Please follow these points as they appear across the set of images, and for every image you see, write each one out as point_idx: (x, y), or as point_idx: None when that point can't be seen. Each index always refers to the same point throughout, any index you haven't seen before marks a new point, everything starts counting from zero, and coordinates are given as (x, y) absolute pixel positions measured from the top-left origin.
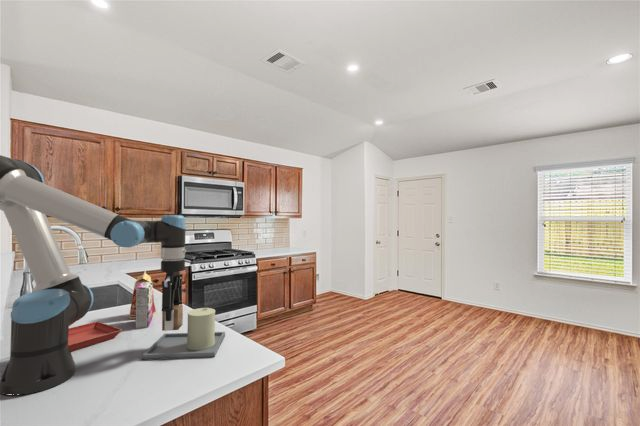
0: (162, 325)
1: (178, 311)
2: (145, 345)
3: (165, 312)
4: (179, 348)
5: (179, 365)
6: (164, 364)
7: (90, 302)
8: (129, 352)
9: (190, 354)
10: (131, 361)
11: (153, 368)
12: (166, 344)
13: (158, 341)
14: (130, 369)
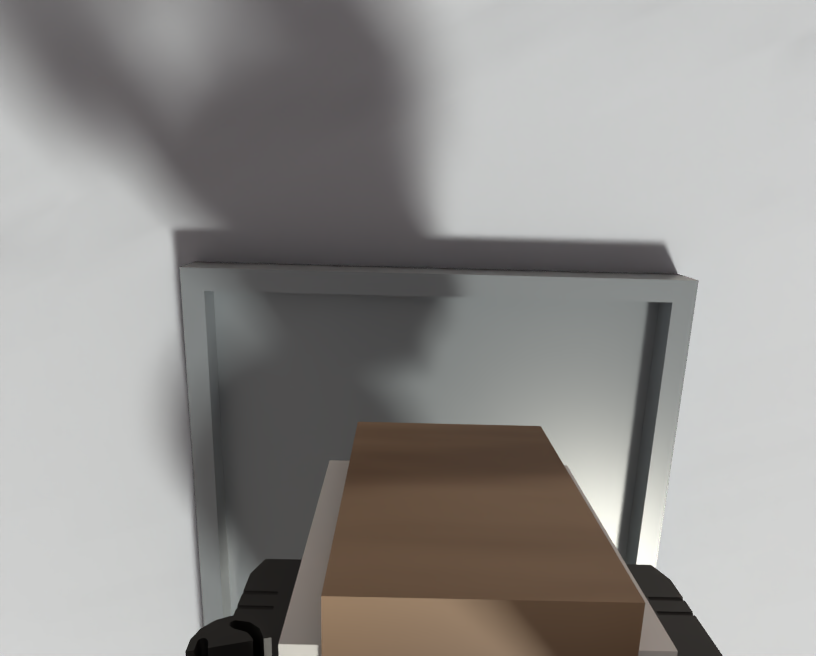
0: (351, 452)
1: None
2: (508, 164)
3: (284, 631)
4: None
5: (101, 559)
6: (116, 457)
7: None
8: (359, 77)
9: (205, 618)
10: (171, 182)
11: (52, 403)
12: (466, 365)
13: (486, 296)
14: (31, 239)
